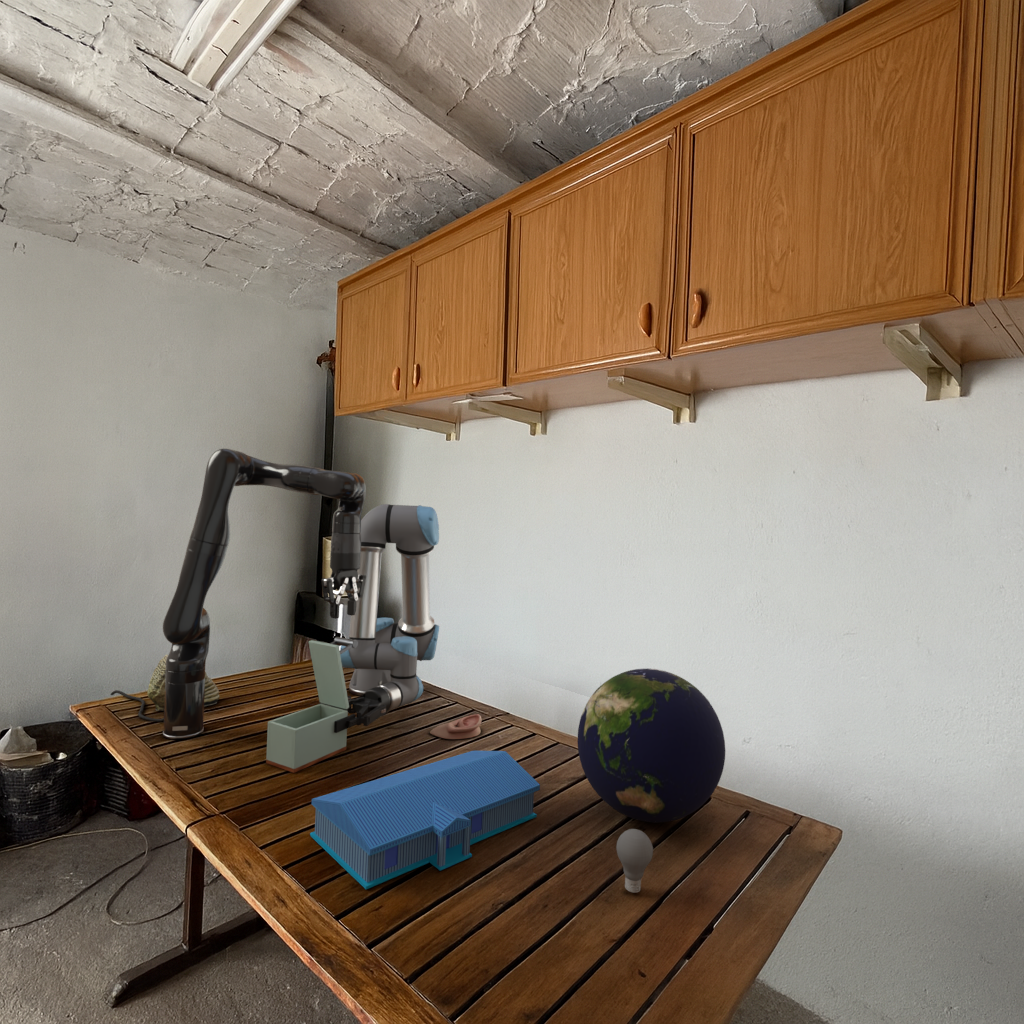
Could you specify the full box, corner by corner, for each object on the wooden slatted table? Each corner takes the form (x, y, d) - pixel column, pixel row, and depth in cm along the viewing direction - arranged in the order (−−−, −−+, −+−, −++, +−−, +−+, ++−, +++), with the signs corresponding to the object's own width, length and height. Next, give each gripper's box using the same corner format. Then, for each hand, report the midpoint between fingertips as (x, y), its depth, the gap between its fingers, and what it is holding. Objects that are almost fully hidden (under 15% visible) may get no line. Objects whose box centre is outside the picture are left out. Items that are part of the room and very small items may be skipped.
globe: (555, 830, 124) (562, 678, 123) (594, 772, 152) (600, 647, 151) (715, 870, 113) (723, 702, 112) (726, 799, 140) (732, 664, 140)
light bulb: (610, 879, 108) (613, 822, 108) (644, 879, 109) (647, 822, 109) (619, 902, 102) (622, 840, 102) (655, 901, 103) (658, 840, 103)
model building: (376, 899, 100) (378, 836, 100) (308, 834, 119) (310, 781, 118) (548, 822, 127) (550, 773, 127) (472, 779, 145) (474, 735, 145)
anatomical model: (426, 721, 169) (440, 708, 180) (425, 736, 169) (439, 722, 181) (474, 727, 167) (485, 713, 178) (473, 742, 167) (484, 727, 178)
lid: (335, 647, 154) (360, 632, 161) (308, 641, 159) (333, 627, 166) (346, 709, 158) (369, 692, 166) (319, 702, 163) (343, 685, 170)
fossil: (144, 707, 182) (145, 655, 182) (212, 696, 194) (213, 647, 194) (151, 716, 175) (153, 662, 175) (221, 703, 188) (223, 653, 188)
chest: (294, 772, 144) (295, 730, 144) (266, 763, 149) (267, 721, 149) (346, 749, 159) (347, 710, 159) (319, 741, 164) (320, 703, 163)
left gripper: (336, 553, 154) (333, 622, 154) (375, 550, 166) (373, 614, 167) (313, 550, 157) (311, 618, 158) (354, 548, 170) (351, 611, 170)
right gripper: (411, 721, 172) (353, 747, 152) (350, 705, 182) (288, 728, 163) (412, 693, 171) (354, 716, 152) (351, 679, 182) (290, 699, 162)
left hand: (343, 616), depth 162 cm, fingers open, 5 cm apart
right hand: (320, 722), depth 157 cm, fingers closed on chest, 9 cm apart
